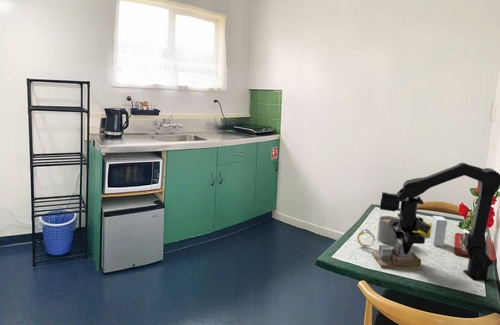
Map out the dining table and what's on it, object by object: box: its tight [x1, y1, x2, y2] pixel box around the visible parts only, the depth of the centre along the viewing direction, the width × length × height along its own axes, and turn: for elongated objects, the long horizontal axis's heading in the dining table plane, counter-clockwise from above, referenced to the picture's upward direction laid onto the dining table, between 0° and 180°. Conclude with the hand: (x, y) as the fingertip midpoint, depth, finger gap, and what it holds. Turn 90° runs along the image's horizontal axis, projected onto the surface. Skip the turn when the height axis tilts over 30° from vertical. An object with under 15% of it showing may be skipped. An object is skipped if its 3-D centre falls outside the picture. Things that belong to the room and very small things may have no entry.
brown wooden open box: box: [371, 244, 423, 270], centre depth 137 cm, size 11×15×6 cm
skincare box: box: [429, 215, 448, 248], centre depth 156 cm, size 6×4×12 cm
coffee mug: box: [376, 215, 399, 246], centre depth 159 cm, size 13×10×10 cm
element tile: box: [396, 216, 432, 236], centre depth 173 cm, size 15×15×5 cm
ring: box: [356, 228, 376, 248], centre depth 150 cm, size 7×3×8 cm, turn 62°
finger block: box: [395, 239, 412, 258], centre depth 137 cm, size 4×4×6 cm
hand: (403, 251), depth 137 cm, fingers closed on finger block, 4 cm apart
